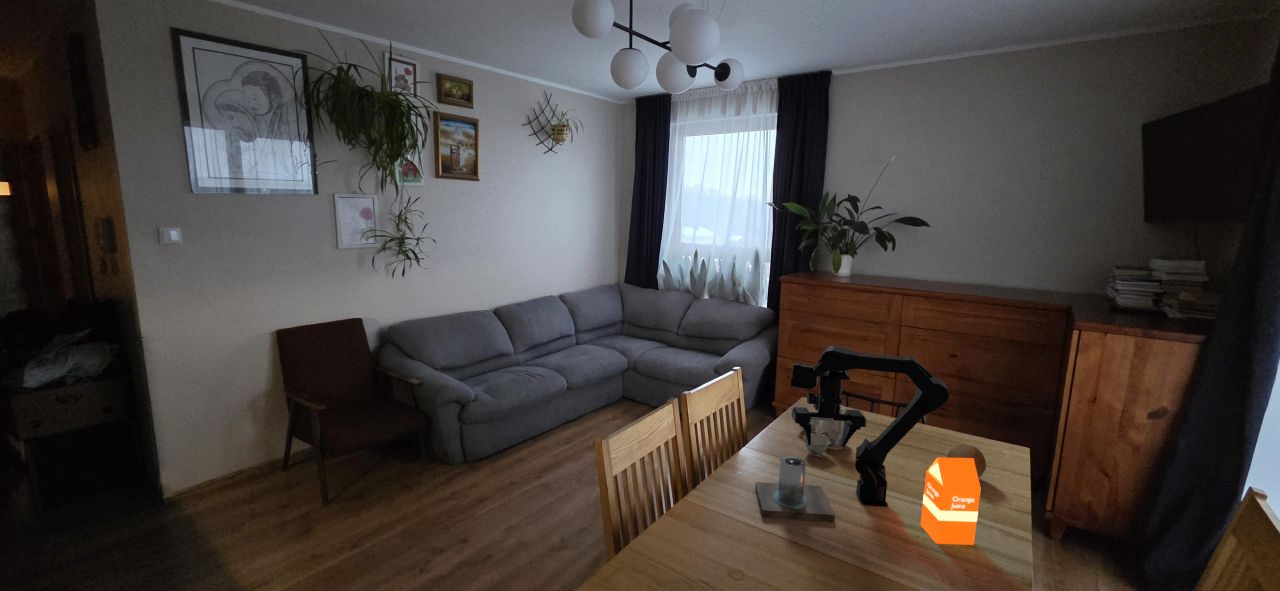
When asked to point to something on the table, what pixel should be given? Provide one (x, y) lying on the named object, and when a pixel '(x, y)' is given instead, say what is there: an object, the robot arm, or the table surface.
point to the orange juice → (951, 501)
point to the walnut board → (810, 509)
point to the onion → (969, 456)
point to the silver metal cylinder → (791, 480)
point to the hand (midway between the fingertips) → (825, 445)
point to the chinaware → (825, 435)
